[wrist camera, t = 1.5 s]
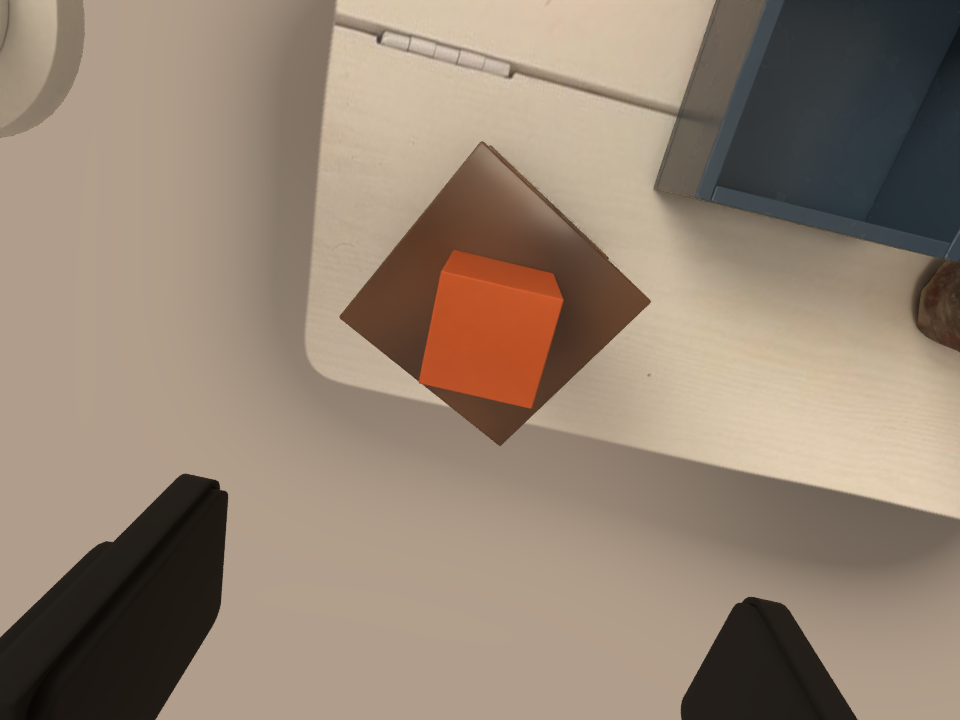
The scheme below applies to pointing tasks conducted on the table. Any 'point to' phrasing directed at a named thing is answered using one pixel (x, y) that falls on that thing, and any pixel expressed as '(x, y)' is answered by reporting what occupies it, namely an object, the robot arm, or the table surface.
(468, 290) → the orange block
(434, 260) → the serving stand
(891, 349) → the table surface
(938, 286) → the brown textured cylinder
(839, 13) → the blue open crate
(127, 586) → the robot arm
